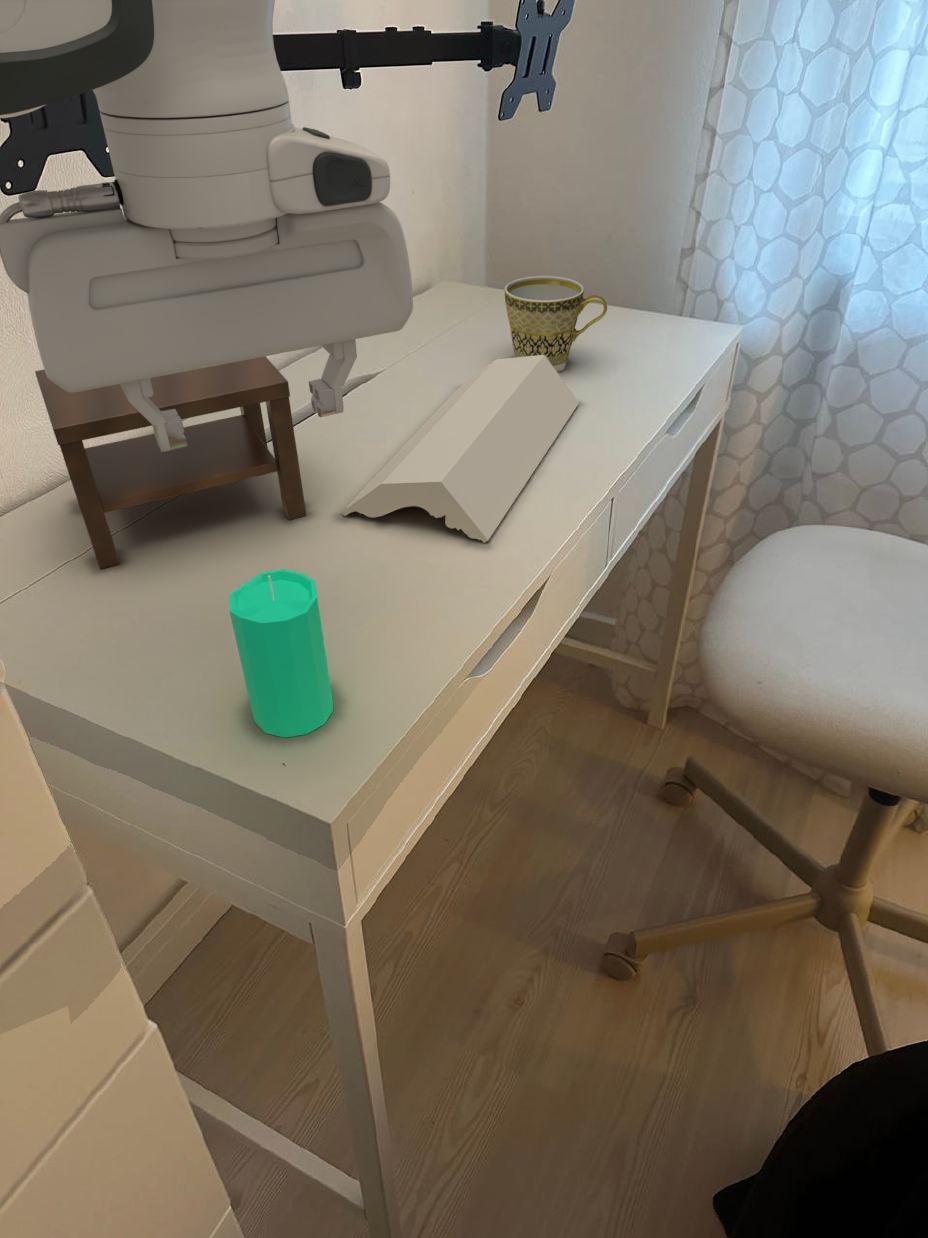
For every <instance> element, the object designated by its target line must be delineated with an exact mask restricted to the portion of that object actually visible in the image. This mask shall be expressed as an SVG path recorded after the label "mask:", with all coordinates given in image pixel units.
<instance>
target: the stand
mask: <svg viewBox="0 0 928 1238" xmlns="http://www.w3.org/2000/svg"><path fill="white" fill-rule="evenodd" d="M34 373H35V377H36V380H37V383H38V386H39V390H40V393H41V396H42V399H43V402H44V405H45V408H46V412H47V415H48V418H49V422H50V424H51V427H52V430H53V434H54V436H55V440H56V443H57V446H59V448H60V451H61V454H62V457H63V460H64V463H65V466H66V470H67V472H68V476H69V478H70V482H71V484H72V488H73V491H74V495H75V497H76V501H77V504H78V506H79V509H80V512H81V515H82V519H83V522H84V525H85V528H86V532H87V534H88V537H89V540H90V544H91V546H92V549H93V553H94V555H95V558H96V562H97V565H98V569H100V570H102V569H107V568H110V567H114V566H118V565H120V564H121V562H120V559H119V556H118V553H117V549H116V545H115V543H114V540H113V536H112V534H111V533H112V532H111V530H110V526H109V523H108V520H107V517H106V513H109V512H114V511H118V510H122V509H126V508H131V507H134V506H138V505H143V504H146V503H147V504H148V503H151V502H156V501H160V500H164V499H167V498H171V497H172V498H173V497H176V496H180V495H184V494H188V493H193V492H197V491H201V490H206V489H209V488H214V487H217V486H222V485H226V484H230V483H234V482H239V481H243V480H247V479H251V478H256V477H260V476H264V475H268V474H271V473H276V472H277V473H276V474H277V478H278V485H279V491H280V492H279V493H280V497H281V504H282V510H283V513H284V515H285V516H286V517H287V518H288V520H289V521H290V520H295V519H298V518H304V517H306V516H307V511H306V504H305V497H304V490H303V483H302V477H301V476H302V475H301V469H300V463H299V462H300V461H299V456H298V450H297V442H296V436H295V435H296V434H295V429H294V422H293V414H292V408H291V402H290V401H291V400H290V397H291V391H290V386H289V385H290V384H289V381H288V379H287V378H286V377H285V376H284V375H283V374H282V373H281V372H280V370H279V369H278V368H277V367H276V366H275V365H274V364H273V363H272V362H271V360H269V358H268V356H264V357H259V358H254V359H248V360H243V361H238V362H233V363H227V364H222V365H217V366H211V367H206V368H201V369H196V370H190V371H185V372H180V373H174V374H169V375H164V376H159V377H153V378H150V380H151V384H152V388H153V393H154V394H153V396H151V397H148V398H149V399H150V400H151V401H152V402H153V403H154V404H155V405H156V406H157V407H158V408H159V409H160V411H165V410H170V409H176V411H177V413H178V416H180V418H181V420H186V419H190V418H191V419H192V418H195V417H200V416H205V415H209V414H213V413H215V414H216V413H218V412H223V411H224V412H225V411H228V410H233V409H238V408H239V410H240V415H234V416H229V417H226V418H220V419H216V420H211V421H207V422H202V423H198V424H193V425H187V426H183V427H184V433H183V434H184V436H185V437H186V440H187V446H186V447H182V448H178V449H173V450H170V451H165V452H161V450H160V448H159V446H158V443H157V441H156V438H155V434H154V433H150V434H145V435H141V436H137V437H132V438H128V439H122V440H118V441H113V442H109V443H103V444H99V445H95V446H90V447H85V445H84V442H83V441H87V440H90V439H95V438H100V437H105V436H110V435H114V434H119V433H123V432H129V431H134V430H138V429H143V428H148V427H153V426H152V424H151V423H150V422H149V421H148V420H147V419H146V418H145V417H144V416H143V415H142V414H141V413H140V412H139V411H138V410H137V409H136V408H135V407H134V406H133V405H132V404H131V403H130V402H129V401H128V400H127V398H126V396H125V394H124V392H123V390H122V387H121V384H117V385H111V386H106V387H101V388H95V389H90V390H85V391H80V392H67V391H65V390H64V389H62V388H61V387H59V386H58V385H56V384H55V383H53V382H52V381H51V380H50V379H49V378H48V377H47V375H46V373H45V370H44V369H38V370H35V371H34ZM261 403H265V406H266V407H265V408H266V413H267V418H268V425H269V430H270V431H269V432H270V436H271V437H270V438H271V442H272V447H273V449H272V450H273V454H272V453H271V451H270V450H269V447H268V442H267V441H268V440H267V436H266V429H265V424H264V418H263V413H262V412H263V411H262V407H261ZM273 455H274V456H273Z"/></svg>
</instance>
